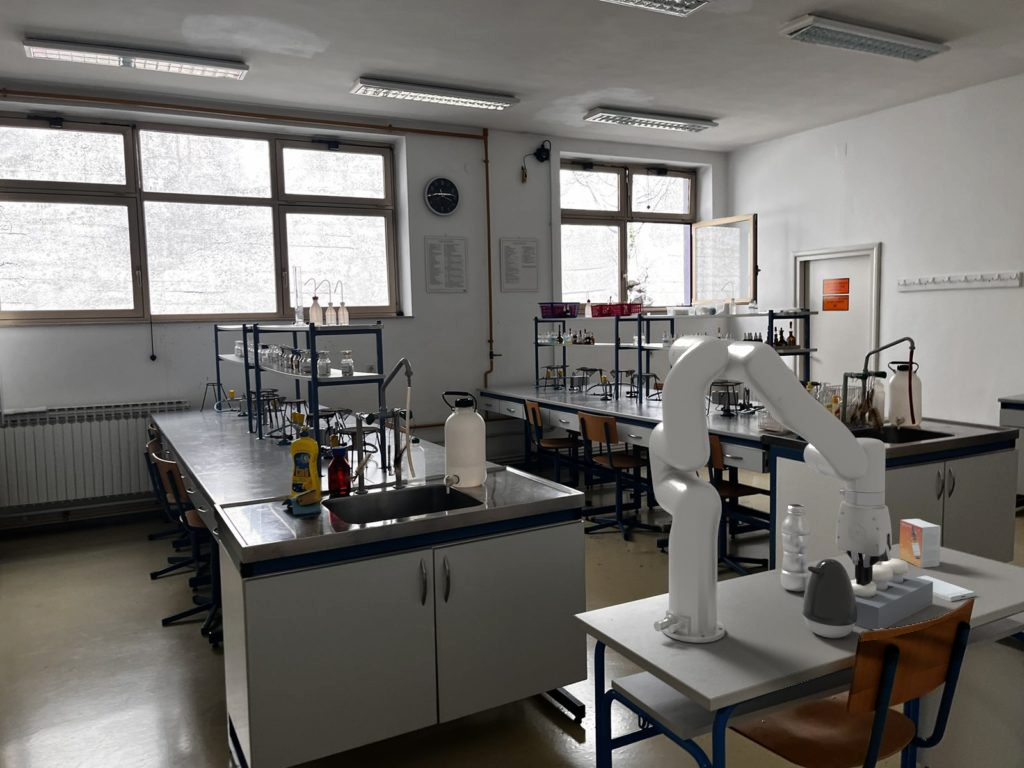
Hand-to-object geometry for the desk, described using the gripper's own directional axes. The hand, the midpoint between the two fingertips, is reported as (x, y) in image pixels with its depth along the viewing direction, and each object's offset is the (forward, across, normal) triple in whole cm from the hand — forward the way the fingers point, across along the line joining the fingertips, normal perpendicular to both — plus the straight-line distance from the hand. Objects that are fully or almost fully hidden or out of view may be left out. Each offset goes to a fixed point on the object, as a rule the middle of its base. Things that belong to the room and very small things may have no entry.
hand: (863, 583), depth 159 cm
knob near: (+6, 0, 0) cm, 6 cm away
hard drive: (+8, +3, +29) cm, 30 cm away
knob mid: (+4, 0, +7) cm, 8 cm away
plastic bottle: (+8, -18, +4) cm, 20 cm away
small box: (+8, -9, +46) cm, 47 cm away
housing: (+7, 0, +7) cm, 10 cm away
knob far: (+4, 0, +14) cm, 14 cm away
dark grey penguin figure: (+7, 0, -13) cm, 15 cm away
